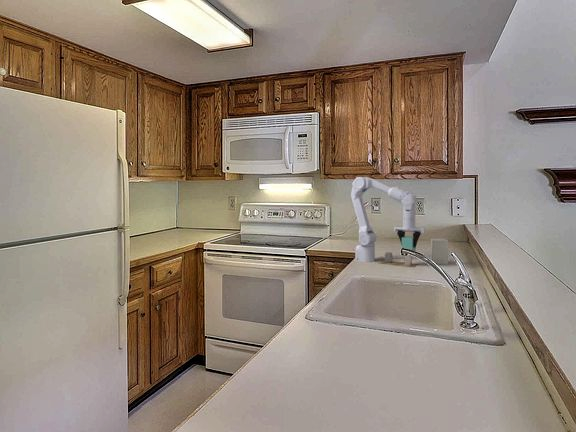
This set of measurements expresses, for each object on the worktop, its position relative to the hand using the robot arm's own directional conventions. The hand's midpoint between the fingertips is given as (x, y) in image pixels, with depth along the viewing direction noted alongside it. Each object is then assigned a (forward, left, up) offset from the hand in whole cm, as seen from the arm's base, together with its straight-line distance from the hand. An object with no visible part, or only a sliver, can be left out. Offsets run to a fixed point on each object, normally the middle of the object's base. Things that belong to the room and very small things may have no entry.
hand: (408, 246), depth 191 cm
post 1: (-10, 0, -9) cm, 13 cm away
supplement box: (+11, +13, -10) cm, 20 cm away
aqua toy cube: (0, 0, -2) cm, 2 cm away
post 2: (0, 0, -9) cm, 9 cm away
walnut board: (-5, 0, -10) cm, 11 cm away
